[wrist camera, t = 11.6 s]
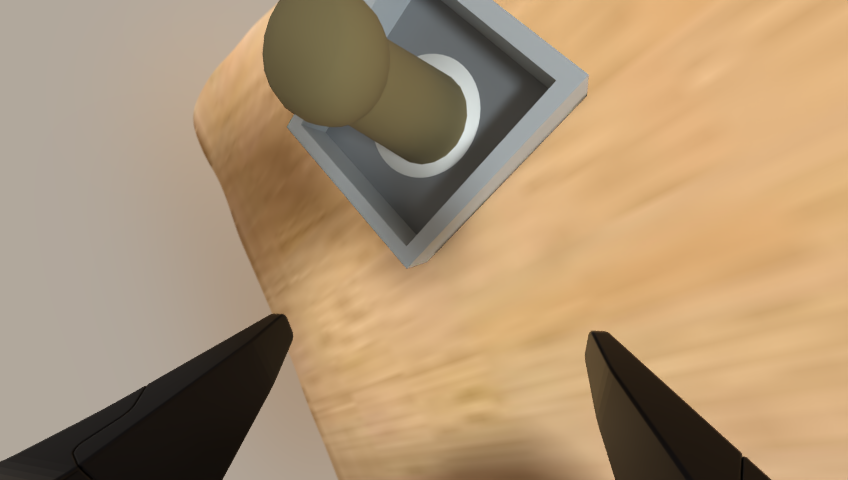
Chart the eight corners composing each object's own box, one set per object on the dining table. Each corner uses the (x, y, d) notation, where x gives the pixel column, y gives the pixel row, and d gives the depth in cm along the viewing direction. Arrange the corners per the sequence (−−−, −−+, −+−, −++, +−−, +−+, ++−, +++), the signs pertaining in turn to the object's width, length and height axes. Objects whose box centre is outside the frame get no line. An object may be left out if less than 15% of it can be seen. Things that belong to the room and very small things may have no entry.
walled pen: (586, 95, 18) (588, 74, 15) (426, 262, 23) (406, 268, 20) (424, -34, 21) (402, -70, 19) (316, 135, 26) (286, 126, 24)
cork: (486, 103, 20) (395, -6, 10) (429, 182, 22) (305, 159, 12) (418, 52, 21) (280, -86, 11) (371, 131, 23) (219, 72, 13)
